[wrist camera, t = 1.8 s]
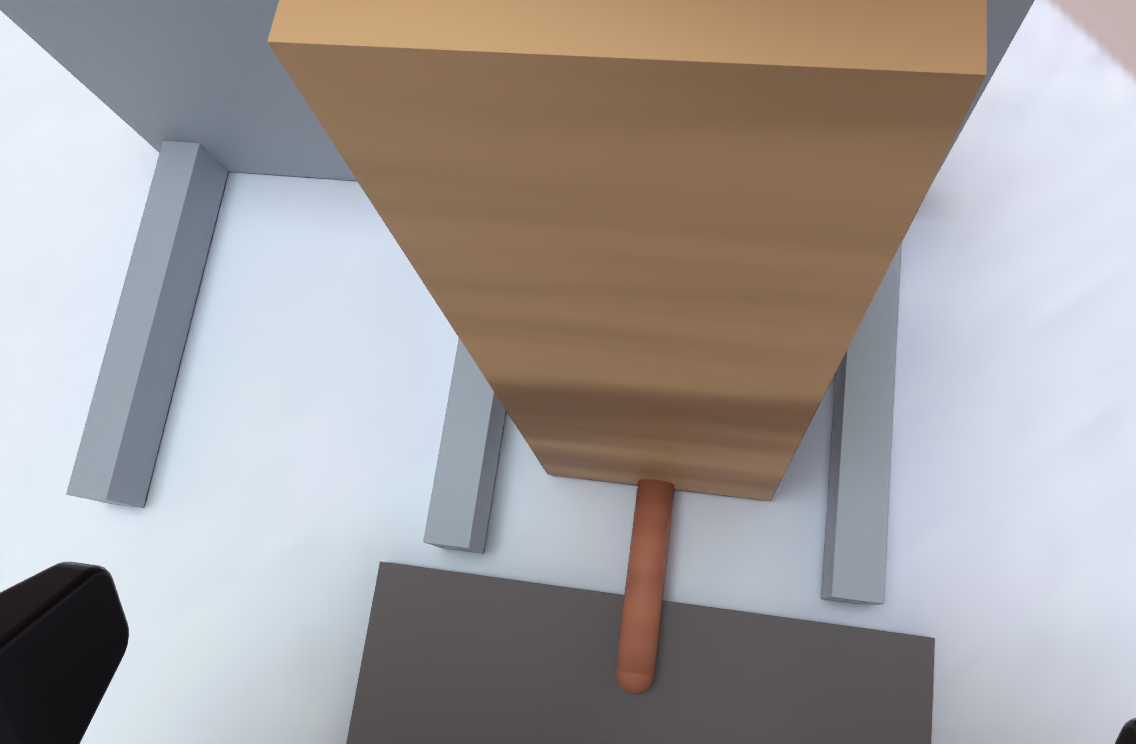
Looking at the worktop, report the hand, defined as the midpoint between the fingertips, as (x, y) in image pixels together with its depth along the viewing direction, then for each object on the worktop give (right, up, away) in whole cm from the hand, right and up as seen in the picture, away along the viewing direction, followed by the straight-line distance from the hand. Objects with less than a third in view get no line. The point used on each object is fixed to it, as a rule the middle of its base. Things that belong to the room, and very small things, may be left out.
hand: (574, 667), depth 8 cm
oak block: (+2, 0, +12) cm, 13 cm away
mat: (+1, -6, +11) cm, 13 cm away
